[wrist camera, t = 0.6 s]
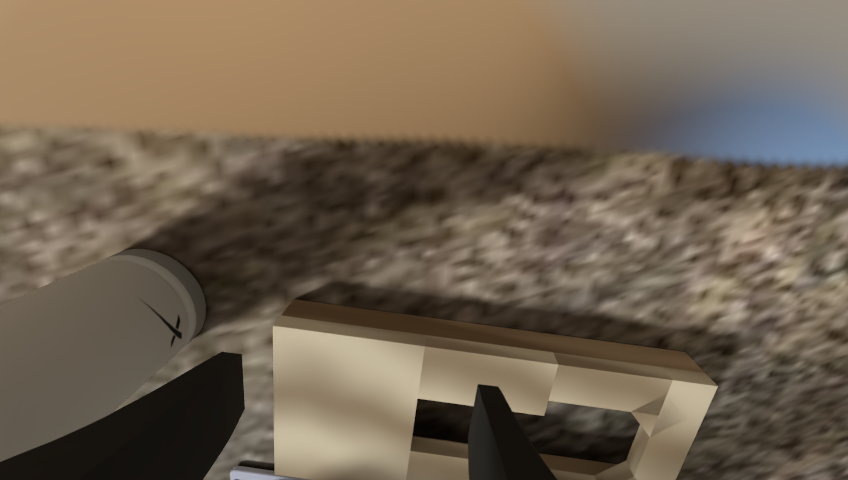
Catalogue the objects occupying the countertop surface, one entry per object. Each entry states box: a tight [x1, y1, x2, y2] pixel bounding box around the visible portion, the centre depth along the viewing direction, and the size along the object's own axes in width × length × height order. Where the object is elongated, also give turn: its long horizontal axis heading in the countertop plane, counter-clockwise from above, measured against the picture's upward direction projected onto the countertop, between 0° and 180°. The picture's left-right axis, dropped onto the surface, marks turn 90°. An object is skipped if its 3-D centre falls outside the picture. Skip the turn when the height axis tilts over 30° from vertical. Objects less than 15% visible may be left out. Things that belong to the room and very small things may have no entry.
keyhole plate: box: [273, 299, 718, 480], centre depth 22 cm, size 10×22×3 cm, turn 83°
